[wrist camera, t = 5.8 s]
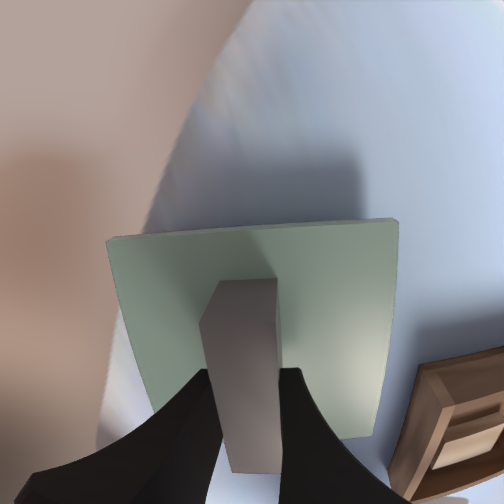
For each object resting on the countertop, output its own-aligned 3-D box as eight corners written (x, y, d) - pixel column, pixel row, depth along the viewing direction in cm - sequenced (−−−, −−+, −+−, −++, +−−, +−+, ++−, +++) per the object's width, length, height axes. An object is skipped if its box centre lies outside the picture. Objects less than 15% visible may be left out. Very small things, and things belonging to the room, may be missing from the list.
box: (497, 439, 16) (513, 468, 12) (387, 471, 17) (395, 509, 13) (543, 334, 13) (573, 361, 10) (419, 364, 14) (442, 408, 11)
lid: (365, 410, 15) (382, 482, 10) (174, 413, 16) (147, 480, 11) (382, 211, 12) (437, 246, 7) (127, 229, 13) (58, 268, 8)
